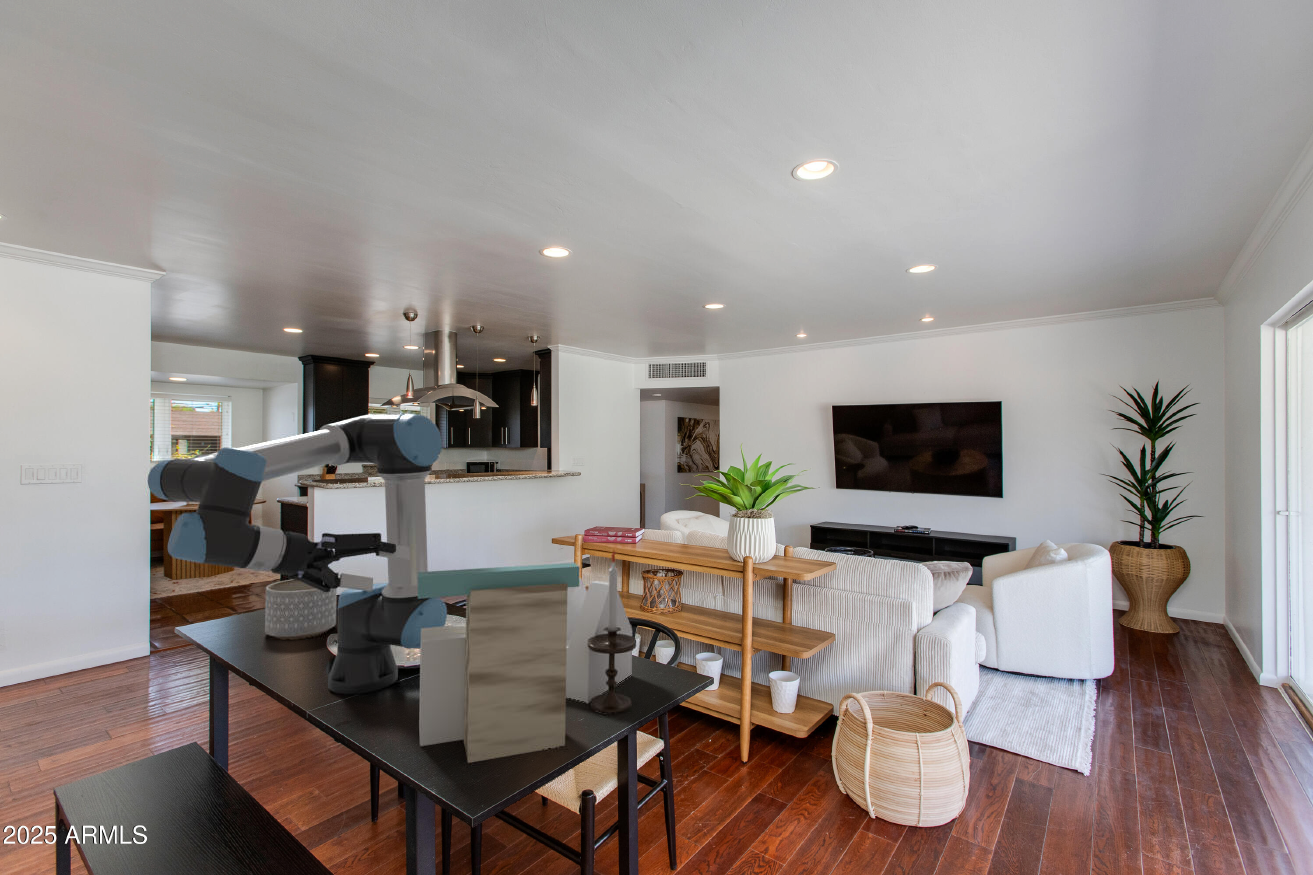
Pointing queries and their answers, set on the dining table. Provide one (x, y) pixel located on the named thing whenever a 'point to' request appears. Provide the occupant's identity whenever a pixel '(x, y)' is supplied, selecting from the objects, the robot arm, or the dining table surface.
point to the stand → (515, 670)
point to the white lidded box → (442, 684)
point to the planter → (298, 610)
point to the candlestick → (611, 652)
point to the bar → (494, 579)
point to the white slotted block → (582, 624)
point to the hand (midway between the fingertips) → (390, 569)
